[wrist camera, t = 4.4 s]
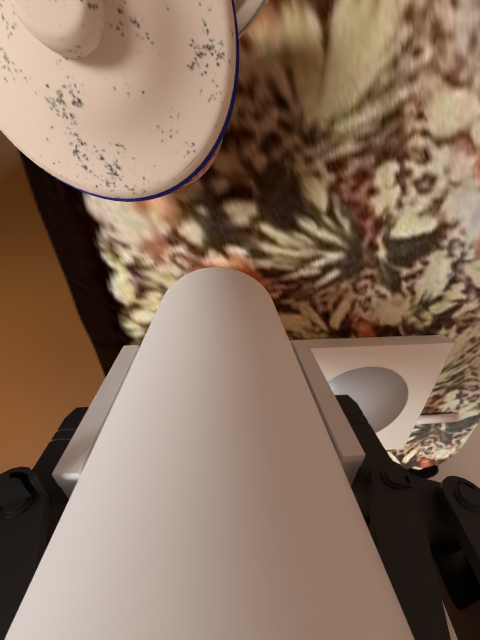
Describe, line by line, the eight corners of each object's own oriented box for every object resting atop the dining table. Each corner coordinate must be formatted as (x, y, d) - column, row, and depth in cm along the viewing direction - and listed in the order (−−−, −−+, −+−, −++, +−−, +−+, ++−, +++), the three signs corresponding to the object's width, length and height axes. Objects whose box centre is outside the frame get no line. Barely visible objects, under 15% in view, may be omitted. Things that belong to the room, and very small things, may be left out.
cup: (290, 279, 17) (653, 811, 3) (260, 373, 20) (344, 791, 7) (162, 255, 15) (-419, 1066, 1) (155, 361, 19) (-14, 852, 5)
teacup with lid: (149, 220, 19) (67, 264, 8) (41, 79, 15) (-364, -162, 4) (294, 113, 16) (422, -6, 6) (212, -90, 12) (186, -1418, 2)
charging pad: (289, 340, 25) (293, 349, 23) (502, 332, 26) (518, 341, 25) (276, 446, 32) (279, 458, 31) (442, 435, 34) (452, 446, 32)
